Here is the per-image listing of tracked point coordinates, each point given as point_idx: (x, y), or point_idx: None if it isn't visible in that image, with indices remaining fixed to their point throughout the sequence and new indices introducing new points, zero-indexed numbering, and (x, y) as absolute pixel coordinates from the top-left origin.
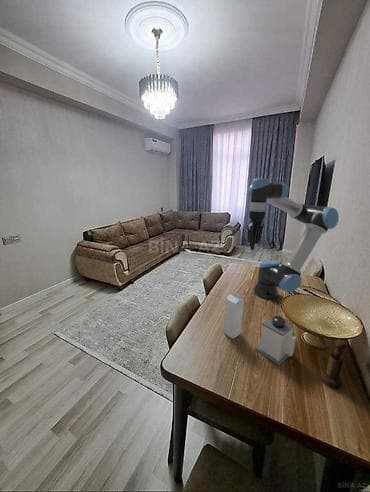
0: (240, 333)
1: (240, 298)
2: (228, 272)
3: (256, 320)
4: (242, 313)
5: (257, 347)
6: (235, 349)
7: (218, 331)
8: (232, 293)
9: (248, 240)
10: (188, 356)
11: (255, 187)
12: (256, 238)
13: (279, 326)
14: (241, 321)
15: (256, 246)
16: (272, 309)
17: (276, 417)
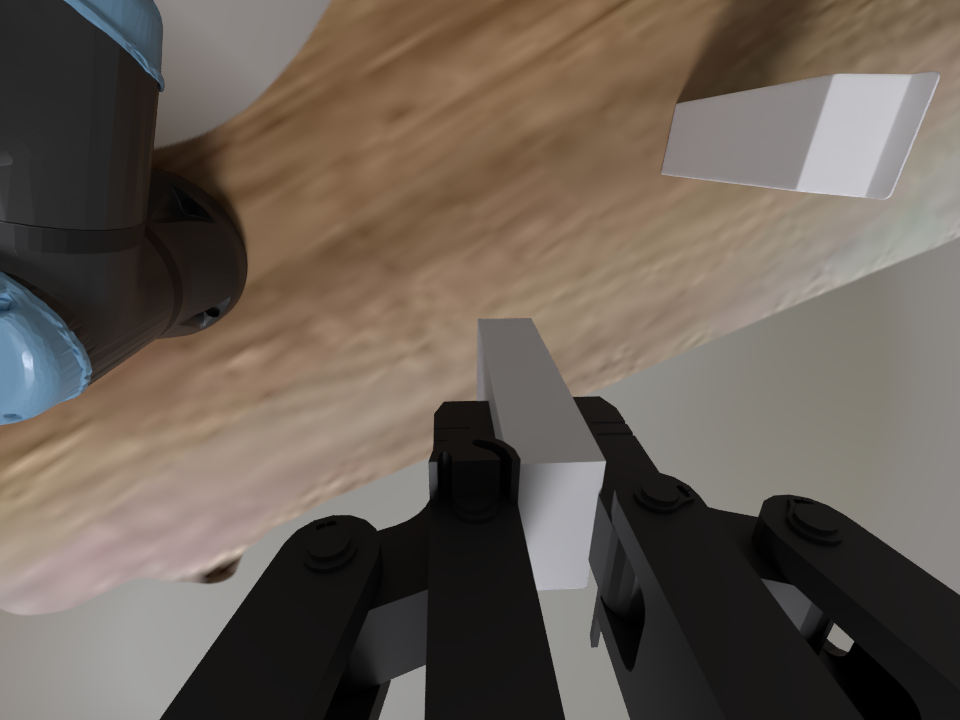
0: (678, 103)
1: (881, 88)
2: (168, 559)
3: (498, 112)
4: (757, 88)
5: None
6: (797, 47)
7: (727, 199)
8: (886, 172)
9: (856, 681)
10: (945, 175)
11: None
12: (549, 678)
13: None
14: (722, 95)
15: (512, 413)
16: (301, 106)
17: None
